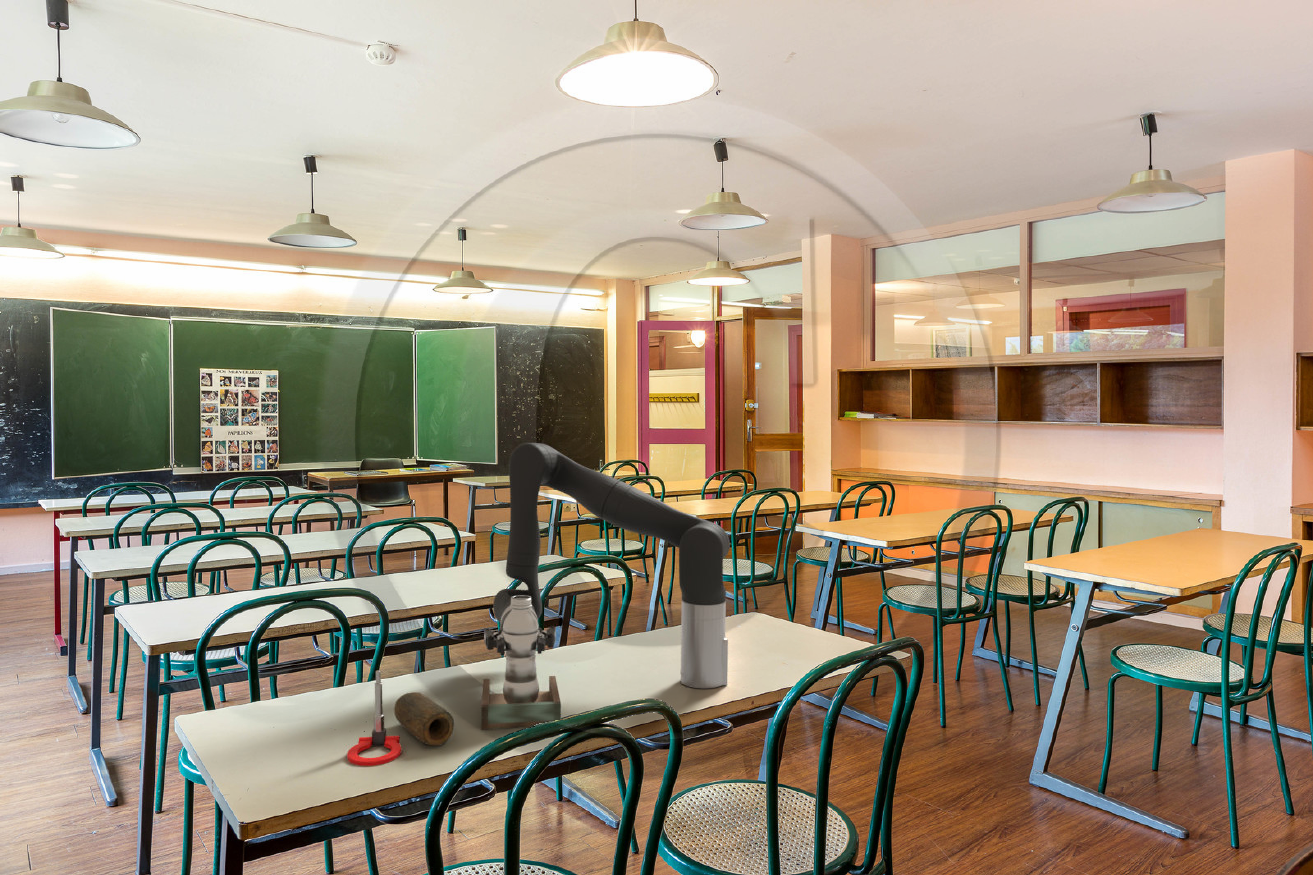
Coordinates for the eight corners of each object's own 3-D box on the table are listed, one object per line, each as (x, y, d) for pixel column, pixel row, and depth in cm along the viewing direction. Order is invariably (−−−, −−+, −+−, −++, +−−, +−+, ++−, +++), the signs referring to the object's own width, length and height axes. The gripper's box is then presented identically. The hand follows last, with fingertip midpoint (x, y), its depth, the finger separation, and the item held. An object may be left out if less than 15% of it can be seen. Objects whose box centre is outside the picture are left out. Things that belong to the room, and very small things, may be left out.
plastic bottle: (532, 711, 155) (532, 602, 154) (497, 708, 157) (497, 600, 156) (543, 699, 162) (544, 594, 161) (509, 696, 163) (510, 592, 162)
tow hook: (396, 767, 137) (405, 742, 146) (395, 689, 136) (404, 668, 145) (342, 770, 136) (354, 744, 145) (340, 691, 135) (353, 670, 144)
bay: (555, 695, 170) (555, 675, 170) (560, 725, 154) (560, 703, 154) (483, 699, 168) (483, 679, 168) (481, 729, 152) (481, 707, 152)
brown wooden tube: (462, 743, 146) (462, 705, 146) (423, 754, 142) (423, 714, 141) (423, 718, 158) (423, 682, 157) (387, 727, 153) (386, 690, 153)
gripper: (483, 607, 171) (481, 630, 155) (555, 605, 174) (561, 627, 157) (482, 645, 172) (481, 671, 155) (555, 642, 174) (560, 667, 158)
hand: (521, 649), depth 156 cm, fingers closed on plastic bottle, 6 cm apart
